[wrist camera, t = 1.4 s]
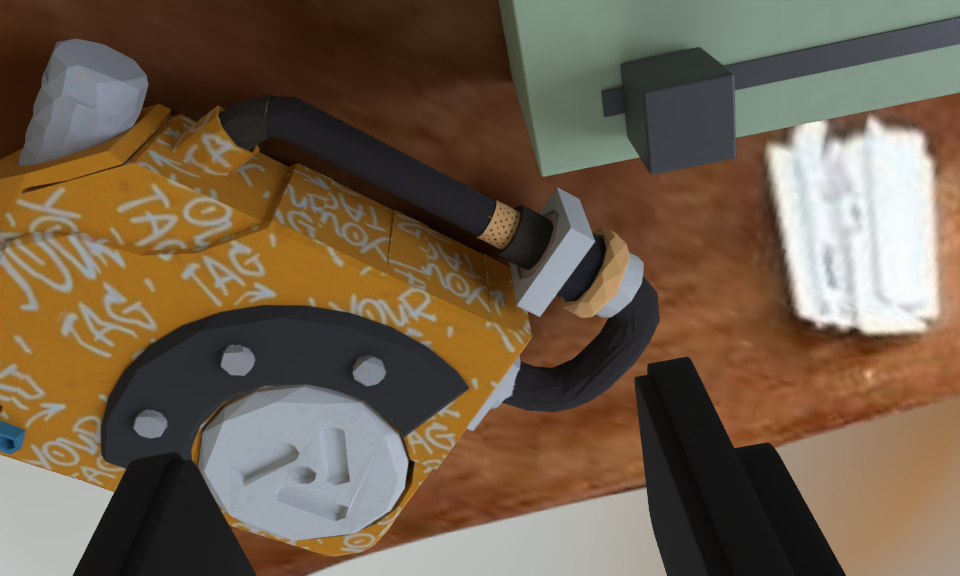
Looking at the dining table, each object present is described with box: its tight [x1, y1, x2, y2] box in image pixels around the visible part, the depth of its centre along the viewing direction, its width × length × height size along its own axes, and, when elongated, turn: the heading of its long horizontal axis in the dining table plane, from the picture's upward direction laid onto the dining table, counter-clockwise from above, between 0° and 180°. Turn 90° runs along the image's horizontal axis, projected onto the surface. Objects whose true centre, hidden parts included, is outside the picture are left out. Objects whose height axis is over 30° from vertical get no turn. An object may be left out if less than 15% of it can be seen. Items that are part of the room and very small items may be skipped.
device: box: [0, 39, 660, 556], centre depth 35 cm, size 23×8×30 cm
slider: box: [620, 47, 736, 174], centre depth 21 cm, size 2×2×3 cm
